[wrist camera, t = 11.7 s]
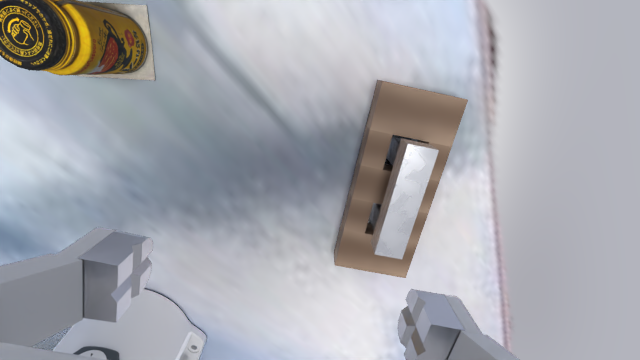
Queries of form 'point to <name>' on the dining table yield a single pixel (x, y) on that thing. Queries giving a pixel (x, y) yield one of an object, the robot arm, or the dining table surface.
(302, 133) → the dining table surface
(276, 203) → the dining table surface
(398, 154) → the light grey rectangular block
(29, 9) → the condiment
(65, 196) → the dining table surface
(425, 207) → the brown wooden block
